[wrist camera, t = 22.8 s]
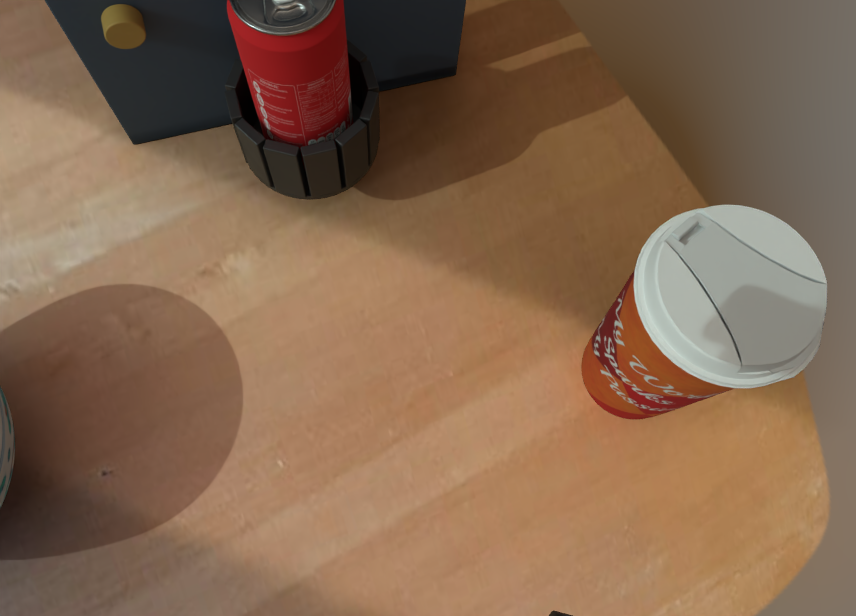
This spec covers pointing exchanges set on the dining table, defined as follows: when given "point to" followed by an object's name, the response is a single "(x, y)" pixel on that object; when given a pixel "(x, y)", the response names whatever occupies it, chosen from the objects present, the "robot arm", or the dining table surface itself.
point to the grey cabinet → (227, 84)
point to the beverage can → (295, 67)
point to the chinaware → (6, 446)
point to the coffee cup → (708, 313)
